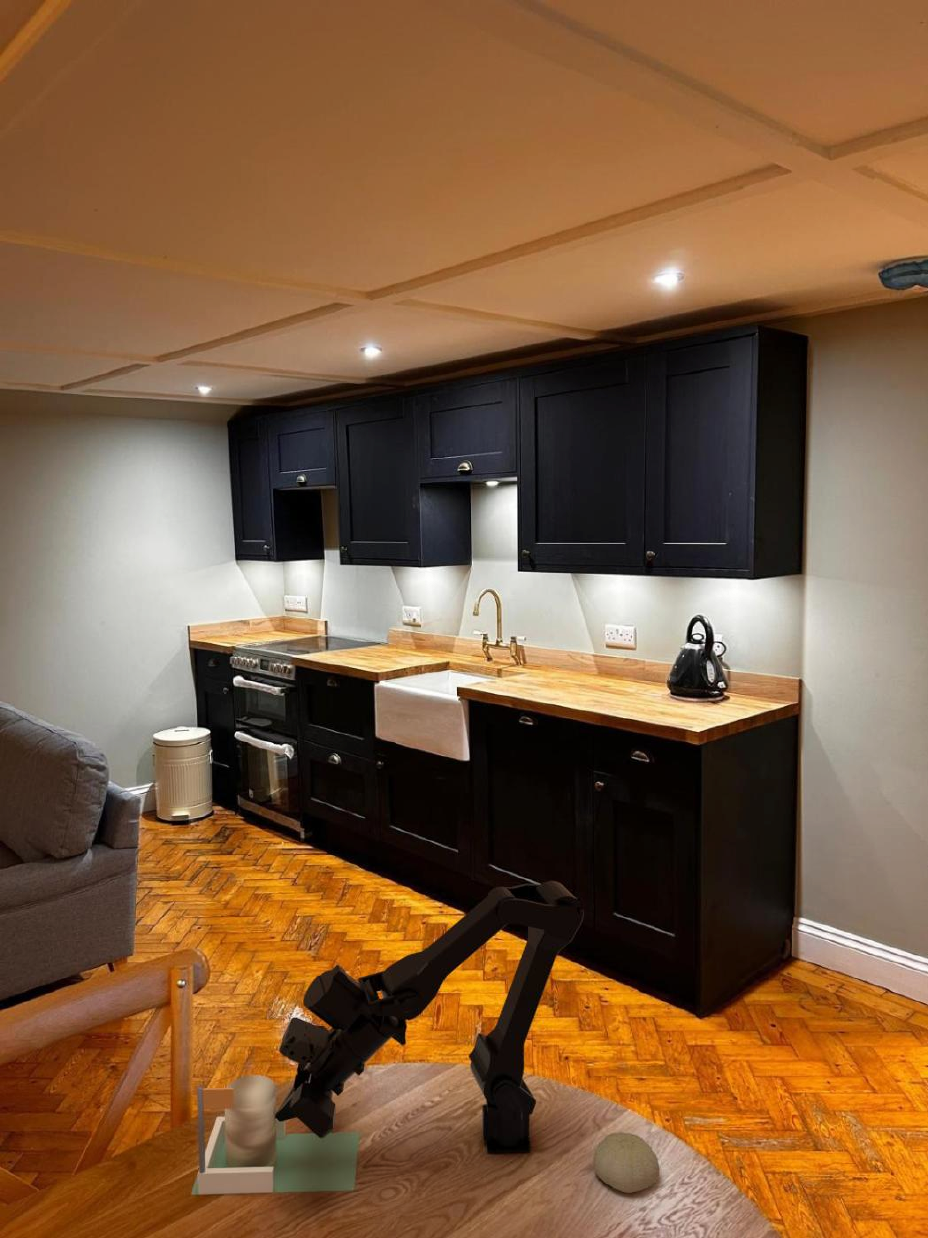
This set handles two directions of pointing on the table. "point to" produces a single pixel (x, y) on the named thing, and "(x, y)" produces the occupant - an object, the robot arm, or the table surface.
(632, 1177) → the sea urchin shell
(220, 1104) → the white frame
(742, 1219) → the table surface
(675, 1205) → the table surface
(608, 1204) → the table surface
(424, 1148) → the table surface
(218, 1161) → the putting mat
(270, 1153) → the birch cylinder
